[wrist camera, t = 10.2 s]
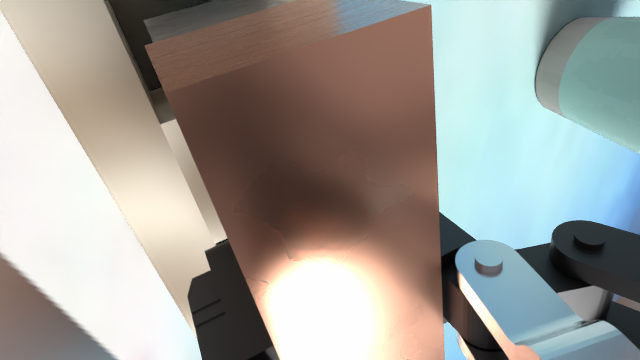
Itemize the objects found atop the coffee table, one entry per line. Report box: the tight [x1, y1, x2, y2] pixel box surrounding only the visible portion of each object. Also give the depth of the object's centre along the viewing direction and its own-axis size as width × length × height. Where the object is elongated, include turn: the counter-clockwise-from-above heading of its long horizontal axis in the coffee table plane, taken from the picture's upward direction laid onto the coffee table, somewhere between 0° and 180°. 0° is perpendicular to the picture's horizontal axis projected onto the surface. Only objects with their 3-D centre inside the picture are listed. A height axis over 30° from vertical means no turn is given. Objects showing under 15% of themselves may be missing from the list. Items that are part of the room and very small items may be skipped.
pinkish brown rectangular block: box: [143, 0, 445, 360], centre depth 11 cm, size 12×4×8 cm, turn 12°
